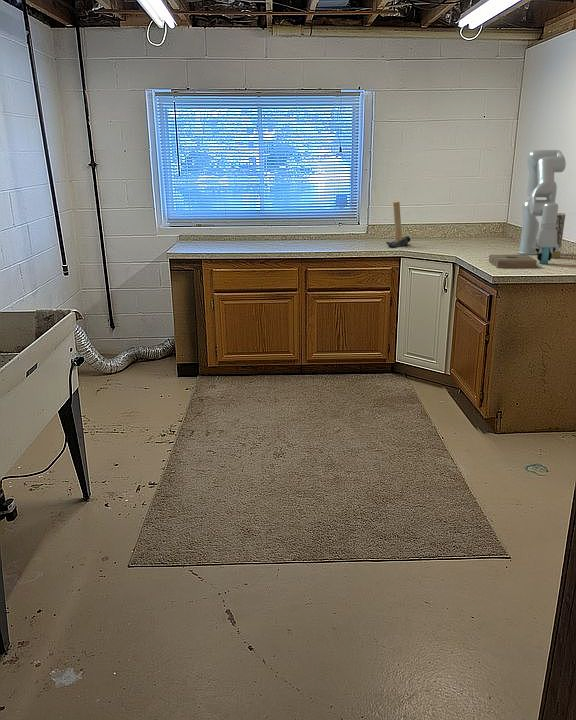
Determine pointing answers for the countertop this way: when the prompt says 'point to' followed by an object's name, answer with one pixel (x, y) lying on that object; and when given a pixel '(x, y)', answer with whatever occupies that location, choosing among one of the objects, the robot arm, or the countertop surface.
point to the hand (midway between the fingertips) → (543, 260)
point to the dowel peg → (544, 256)
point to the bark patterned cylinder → (559, 234)
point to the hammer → (398, 228)
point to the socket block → (512, 261)
